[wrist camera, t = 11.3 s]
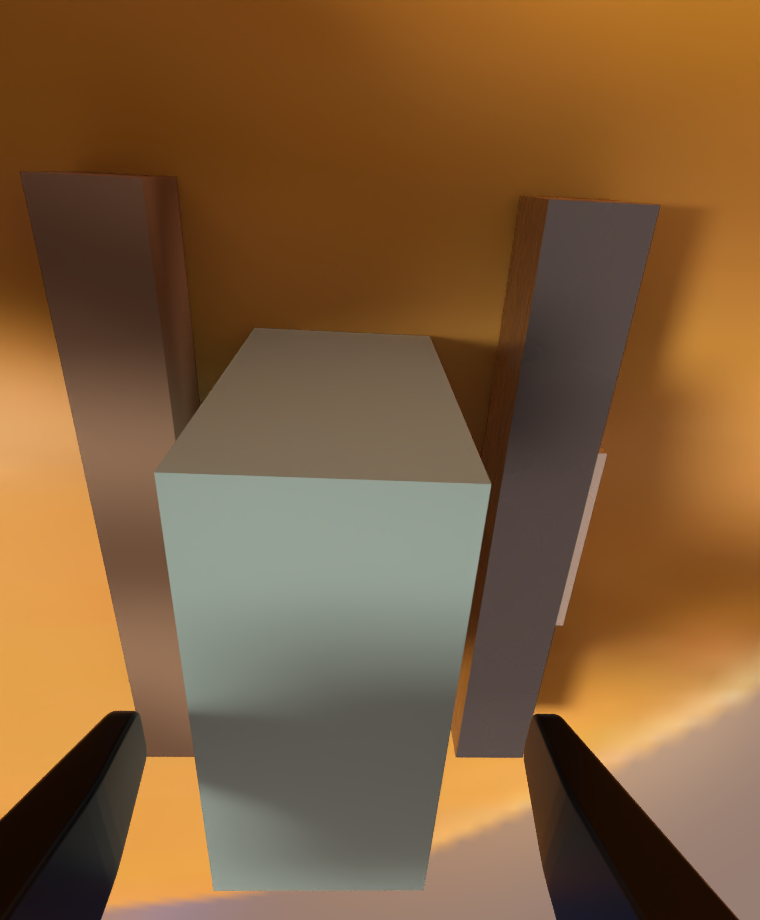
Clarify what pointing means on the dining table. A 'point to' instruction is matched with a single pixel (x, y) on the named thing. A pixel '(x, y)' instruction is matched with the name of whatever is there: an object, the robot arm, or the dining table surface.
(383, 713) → the box
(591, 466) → the rail
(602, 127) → the dining table surface
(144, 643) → the shelf ledge
